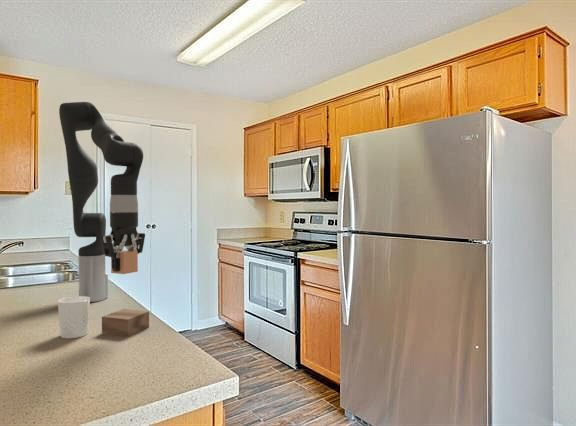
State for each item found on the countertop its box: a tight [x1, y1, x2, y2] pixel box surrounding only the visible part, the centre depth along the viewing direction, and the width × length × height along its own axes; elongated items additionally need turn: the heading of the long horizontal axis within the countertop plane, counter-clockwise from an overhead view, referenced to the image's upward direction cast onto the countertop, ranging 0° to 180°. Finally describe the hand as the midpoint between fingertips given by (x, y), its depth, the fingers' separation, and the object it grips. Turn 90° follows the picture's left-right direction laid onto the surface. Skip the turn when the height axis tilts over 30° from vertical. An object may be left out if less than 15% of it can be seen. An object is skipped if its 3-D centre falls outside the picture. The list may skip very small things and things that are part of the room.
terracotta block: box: [110, 249, 139, 275], centre depth 114 cm, size 5×5×6 cm
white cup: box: [57, 295, 91, 340], centre depth 110 cm, size 8×8×10 cm
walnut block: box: [101, 308, 150, 337], centre depth 114 cm, size 9×9×5 cm
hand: (124, 269), depth 114 cm, fingers closed on terracotta block, 5 cm apart
